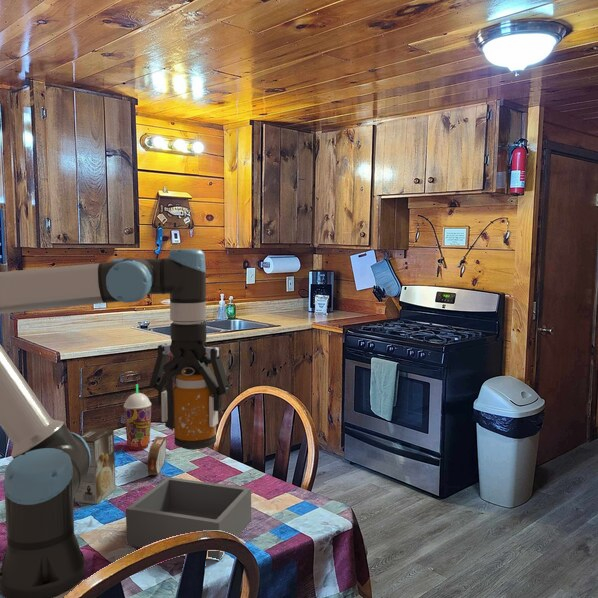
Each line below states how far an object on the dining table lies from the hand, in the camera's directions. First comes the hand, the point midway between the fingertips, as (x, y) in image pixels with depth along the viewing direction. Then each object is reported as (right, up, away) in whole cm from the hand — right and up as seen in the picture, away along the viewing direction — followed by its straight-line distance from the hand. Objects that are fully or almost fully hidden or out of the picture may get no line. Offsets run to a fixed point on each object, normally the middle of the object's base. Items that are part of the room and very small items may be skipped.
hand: (189, 422), depth 127 cm
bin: (0, -25, +2) cm, 25 cm away
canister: (0, -5, +1) cm, 5 cm away
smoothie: (-26, -20, +56) cm, 65 cm away
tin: (-16, -22, +39) cm, 47 cm away
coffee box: (-28, -23, +21) cm, 42 cm away
